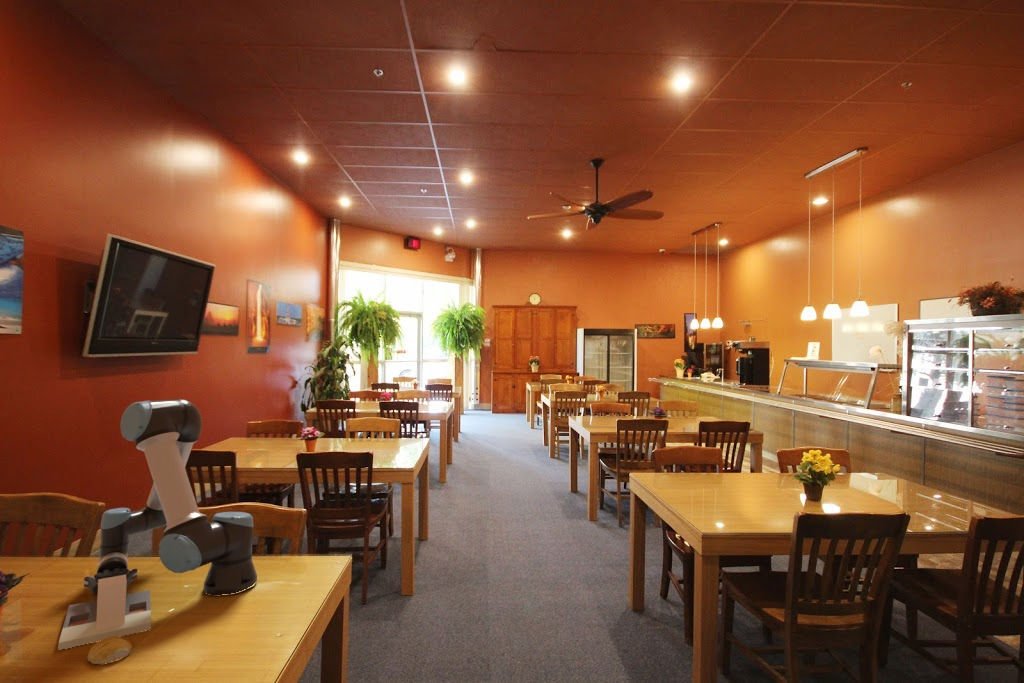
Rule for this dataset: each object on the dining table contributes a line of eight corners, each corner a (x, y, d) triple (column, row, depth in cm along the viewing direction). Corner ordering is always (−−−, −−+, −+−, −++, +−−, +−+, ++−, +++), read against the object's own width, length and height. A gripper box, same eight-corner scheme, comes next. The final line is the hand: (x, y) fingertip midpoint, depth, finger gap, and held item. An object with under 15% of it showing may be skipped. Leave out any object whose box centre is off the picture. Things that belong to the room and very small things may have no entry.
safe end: (62, 636, 138) (62, 628, 138) (150, 617, 149) (150, 610, 149) (58, 651, 131) (58, 642, 131) (150, 630, 142) (151, 622, 142)
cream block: (96, 621, 142) (98, 579, 143) (124, 615, 146) (125, 574, 146) (96, 630, 138) (98, 587, 138) (124, 623, 141) (126, 581, 142)
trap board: (69, 612, 151) (69, 605, 151) (149, 596, 162) (150, 589, 162) (62, 636, 138) (62, 628, 138) (150, 617, 149) (150, 610, 149)
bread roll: (120, 643, 136) (120, 627, 136) (136, 654, 131) (137, 638, 131) (80, 658, 129) (81, 641, 129) (96, 670, 124) (97, 653, 124)
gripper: (137, 576, 167) (136, 606, 148) (84, 586, 160) (76, 618, 140) (138, 552, 167) (138, 578, 148) (86, 560, 160) (78, 589, 141)
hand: (108, 597), depth 144 cm, fingers closed
